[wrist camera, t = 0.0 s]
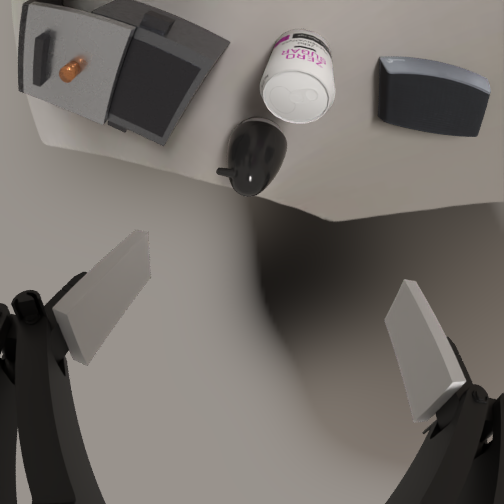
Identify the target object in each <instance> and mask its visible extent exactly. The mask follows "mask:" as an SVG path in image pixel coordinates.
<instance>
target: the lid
mask: <svg viewBox="0 0 504 504" xmlns="http://www.w3.org/2000/svg"><path fill="white" fill-rule="evenodd" d="M62 2H63V0H29V1H27V2H25V3H23V6H22V13H21V21H20V31H19V47H18V85H19V91H20V92H23V93H25V94H28V95H31V96H33V97H36V98H39V99H41V100H44V101H46V102H49V103H51V104H54V105H56V106H59V107H61V108H64V109H66V110H68V111H71V112H73V113H76V114H78V115H80V116H83V117H85V118H87V119H90V120H92V121H94V122H97V123H99V124H101V125H104V124H105V122H106V121H107V117H108V112H109V108H110V104H111V101H112V97H113V93H114V90H115V86H116V83H117V79H118V76H119V73H120V70H121V67H122V64H123V61H124V58H125V55H126V52H127V49H128V47H129V44H130V41H131V39H132V36H133V34H134V31H135V29H136V27H134V26H131V25H128V24H126V23H123V22H120V21H117V20H114V19H110V18H107V17H104V16H101V15H97V14H93V13H90V12H86V11H82V10H78V9H74V8H69V7H64V6H62Z"/></svg>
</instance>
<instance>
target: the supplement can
mask: <svg viewBox="0 0 504 504" xmlns="http://www.w3.org/2000/svg"><path fill="white" fill-rule="evenodd" d="M260 95H261V97H262V99H263V101H264V103H265V104H266V106H267V108H268V110H269V111H270V112H271V113H272V114H273V115H274V116H276V117H278V118H280V119H282V120H283V121H286V122H290V123H295V124H301V123H309V122H312V121H315V120H317V119H318V118H320V117H321V116H323V115H324V114H325V112H327V111H328V110H329V108H330V107H331V105H332V104H333V102H334V97H335V82H334V73H333V64H332V56H331V51H330V48H329V45H328V43H327V42H326V41H325V39H324V38H323V37H322V36H320V35H319V34H317V33H315V32H314V31H310V30H306V29H293V30H290V31H288V32H285V33H284V34H282V35H281V36H280V37H279V38H278V39H277V42H276V44H275V46H274V49H273V51H272V54H271V56H270V59H269V61H268V64H267V66H266V69H265V71H264V74H263V76H262V79H261V81H260Z"/></svg>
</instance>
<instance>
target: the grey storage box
mask: <svg viewBox="0 0 504 504" xmlns="http://www.w3.org/2000/svg"><path fill="white" fill-rule="evenodd" d="M91 13H93V14H97V15H101V16H104V17H107V18H110V19H114V20H117V21H120V22H123V23H126V24H128V25H131V26H134V27H136V29H135V31H134V34H133V36H132V39H131V41H130V44H129V47H128V49H127V52H126V55H125V58H124V61H123V64H122V67H121V70H120V73H119V76H118V79H117V83H116V86H115V90H114V93H113V97H112V101H111V104H110V108H109V112H108V117H107V120H108V125H110V126H112V127H114V128H116V129H118V130H121V131H123V132H126V131H127V130H131V131H133V132H135V133H137V134H139V135H141V136H143V137H146V138H148V139H150V140H152V141H154V142H156V143H158V144H160V145H162V146H164V145H165V144H166V142H167V140H168V138H169V137H170V135H171V133H172V132H173V130H174V128H175V127H176V125H177V123H178V122H179V120H180V118H181V117H182V115H183V113H184V111H185V110H186V108H187V106H188V105H189V103H190V101H191V100H192V98H193V96H194V95H195V93H196V92H197V90H198V88H199V87H200V85H201V84H202V82H203V81H204V79H205V78H206V76H207V75H208V73H209V72H210V70H211V69H212V67H213V66H214V64H215V63H216V61H217V60H218V59H219V57H220V56H221V54H222V53H223V51H224V50H225V49H226V47H227V46H228V45H229V43H230V42H229V41H227V40H225V39H224V38H222V37H220V36H218V35H216V34H214V33H212V32H210V31H208V30H206V29H204V28H202V27H200V26H198V25H195V24H193V23H191V22H189V21H187V20H184V19H182V18H180V17H177V16H175V15H173V14H170V13H168V12H165V11H163V10H160V9H157V8H155V7H152V6H149V5H146V4H143V3H140V2H137V1H134V0H115V1H112V2H110V3H108V4H106V5H104V6H102V7H100V8H98V9H96V10H94V11H92V12H91Z"/></svg>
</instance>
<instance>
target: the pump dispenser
mask: <svg viewBox="0 0 504 504" xmlns="http://www.w3.org/2000/svg"><path fill="white" fill-rule="evenodd" d="M286 151H287V141H286V138H285V136H284V134H283V132H282V130H281V129H280V127H279V126H278V125H277V124H276V123H274V122H273V121H271V120H268V119H265V118H251V119H248V120H246V121H244V122H242V123H241V124H239V125H238V126H236V127H235V128H234V130H233V131H232V133H231V135H230V138H229V142H228V148H227V168H218V169H217V171H216V173H217V174H218V175H222V176H226V177H229V180H230V183H231V185H232V187H233V189H234V190H235V191H236V192H237V193H238V194H240V195H243V196H247V197H251V196H255V195H257V194H259V193H261V192H262V191H263V190H264V189H265V188H266V187H267V186H268V185H269V184H270V183H271V182H272V180H273V179H274V178H275V176H276V175H277V173H278V171H279V169H280V167H281V165H282V163H283V160H284V158H285V155H286Z"/></svg>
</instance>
